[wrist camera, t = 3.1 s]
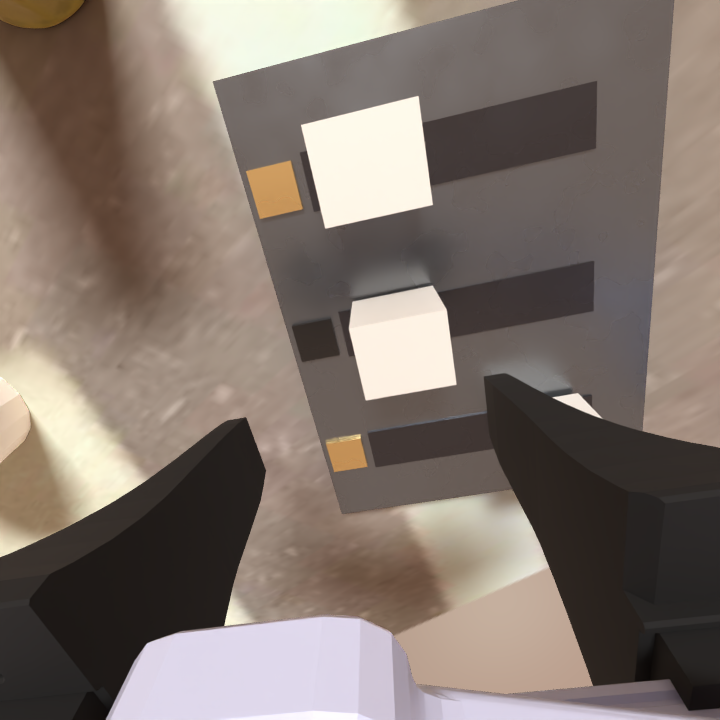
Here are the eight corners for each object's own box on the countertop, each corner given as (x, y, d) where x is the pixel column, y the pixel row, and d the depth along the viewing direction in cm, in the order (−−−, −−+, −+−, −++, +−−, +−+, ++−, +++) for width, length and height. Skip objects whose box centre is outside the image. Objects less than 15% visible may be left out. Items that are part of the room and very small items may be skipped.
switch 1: (408, 112, 15) (418, 95, 12) (420, 199, 16) (432, 204, 13) (315, 135, 15) (300, 125, 12) (333, 218, 17) (325, 228, 13)
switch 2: (432, 285, 18) (446, 309, 14) (441, 349, 19) (456, 384, 16) (352, 301, 18) (348, 328, 15) (366, 363, 19) (365, 400, 16)
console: (640, -16, 15) (681, -46, 13) (618, 447, 23) (641, 473, 21) (229, 92, 17) (210, 80, 15) (344, 489, 25) (341, 516, 23)
